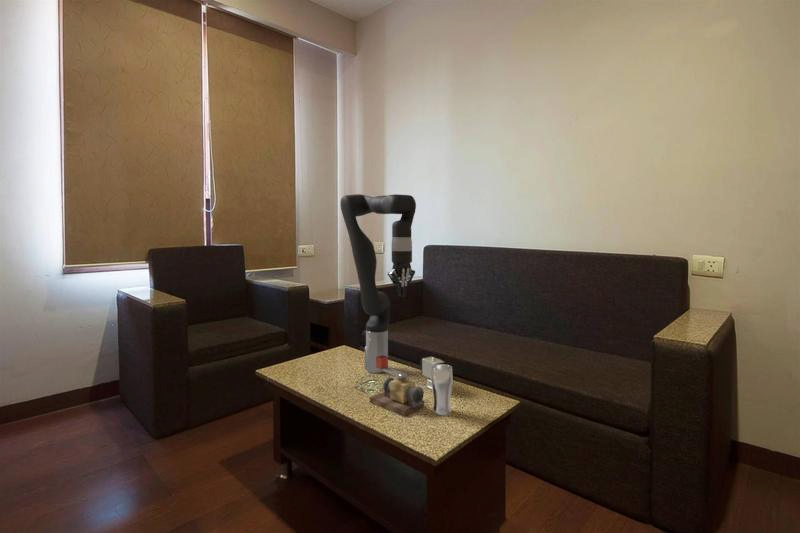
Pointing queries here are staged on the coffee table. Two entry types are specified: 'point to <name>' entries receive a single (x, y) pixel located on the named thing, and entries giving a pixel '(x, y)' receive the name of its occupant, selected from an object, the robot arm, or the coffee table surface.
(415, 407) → the valve pipe
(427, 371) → the pneumatic valve
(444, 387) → the beer glass
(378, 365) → the valve lever
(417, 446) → the coffee table surface
